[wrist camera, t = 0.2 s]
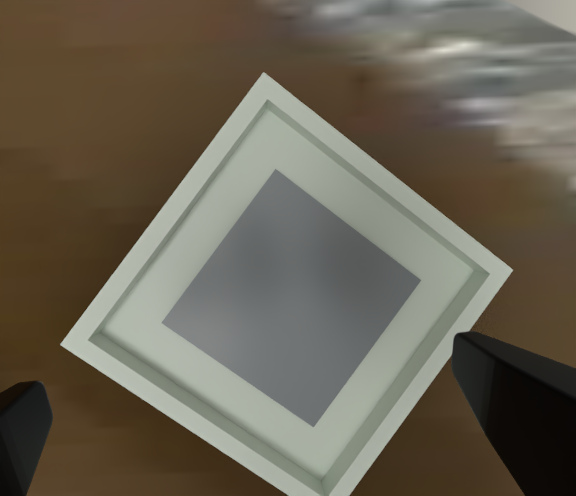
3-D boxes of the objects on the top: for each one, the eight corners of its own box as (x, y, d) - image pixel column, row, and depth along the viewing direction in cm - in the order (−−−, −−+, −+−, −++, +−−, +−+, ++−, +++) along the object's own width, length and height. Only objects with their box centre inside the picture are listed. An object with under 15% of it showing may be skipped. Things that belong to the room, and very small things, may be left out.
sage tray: (322, 494, 25) (329, 522, 23) (79, 332, 23) (60, 344, 21) (488, 266, 25) (513, 270, 23) (262, 88, 23) (263, 72, 21)
